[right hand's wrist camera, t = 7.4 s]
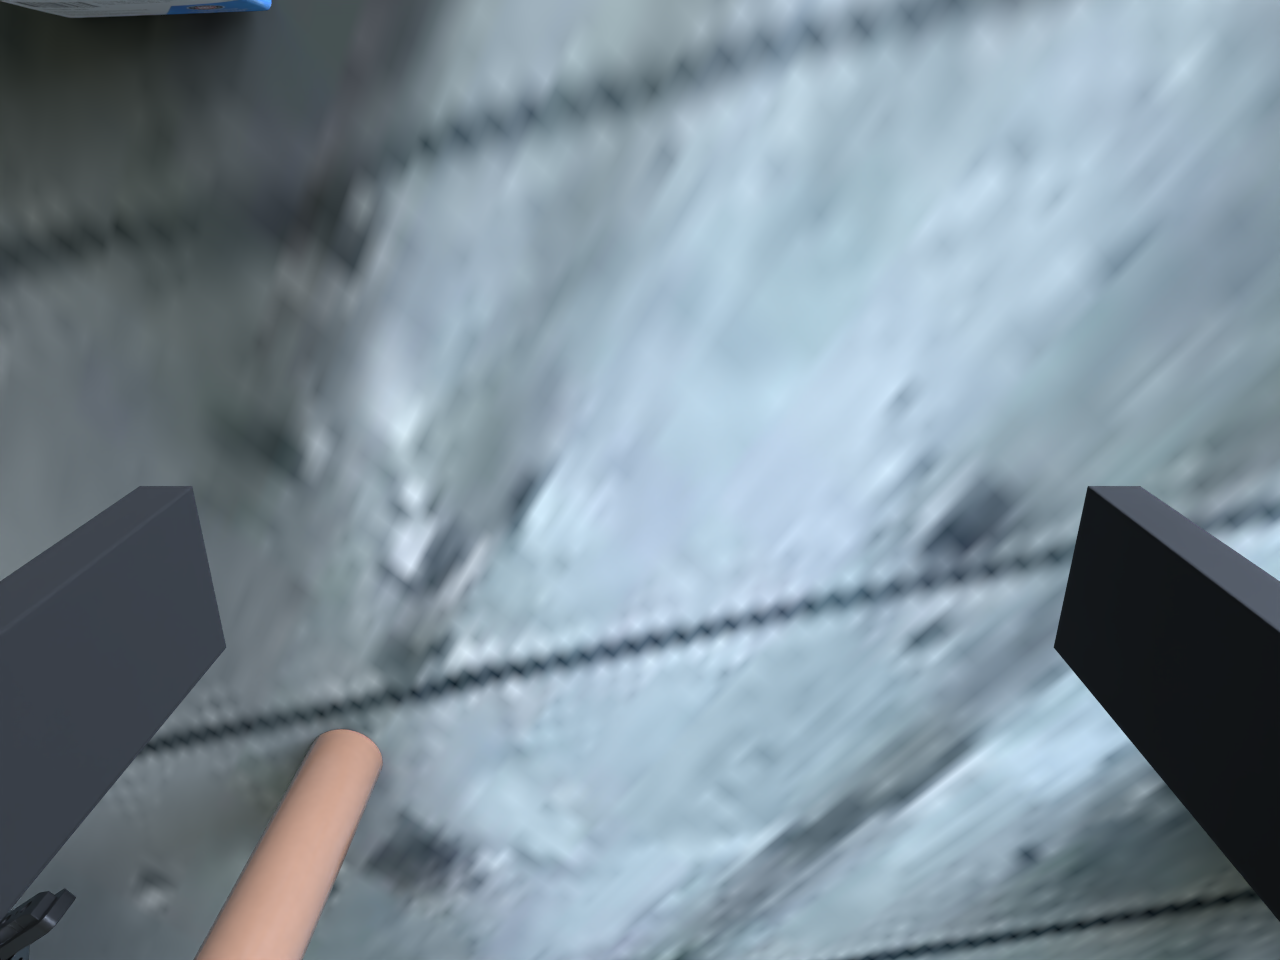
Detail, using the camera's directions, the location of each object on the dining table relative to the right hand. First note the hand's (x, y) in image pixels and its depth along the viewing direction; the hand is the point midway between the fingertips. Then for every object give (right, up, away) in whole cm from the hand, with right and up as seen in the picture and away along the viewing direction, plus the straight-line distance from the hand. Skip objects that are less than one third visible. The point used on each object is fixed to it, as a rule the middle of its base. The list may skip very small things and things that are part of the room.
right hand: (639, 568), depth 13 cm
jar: (-17, -14, +35) cm, 41 cm away
